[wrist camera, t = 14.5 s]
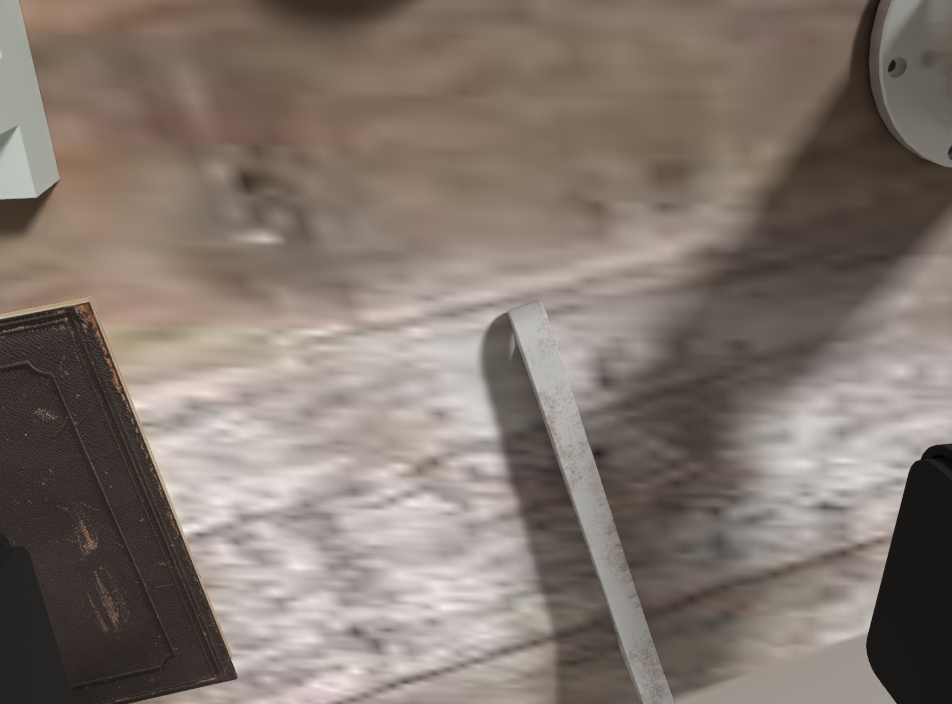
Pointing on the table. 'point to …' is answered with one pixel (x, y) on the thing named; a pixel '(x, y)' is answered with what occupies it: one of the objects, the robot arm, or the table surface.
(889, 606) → the robot arm
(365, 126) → the table surface
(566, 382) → the wrench
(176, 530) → the hardcover book
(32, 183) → the ridge stand
